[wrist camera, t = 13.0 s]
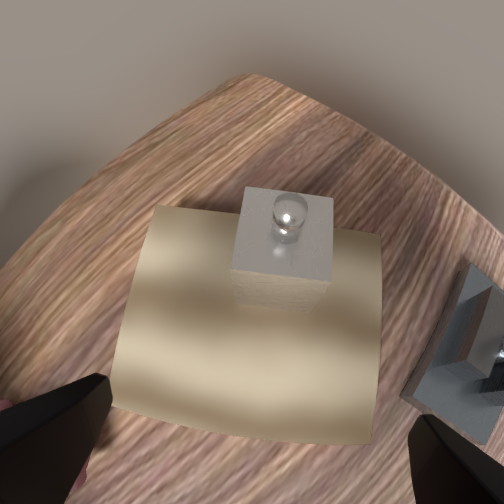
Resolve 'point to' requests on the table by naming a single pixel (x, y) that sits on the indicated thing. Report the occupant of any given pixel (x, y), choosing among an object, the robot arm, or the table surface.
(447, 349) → the gray stepped fixture
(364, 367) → the beige wooden slab
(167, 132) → the table surface
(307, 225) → the gray knob block
